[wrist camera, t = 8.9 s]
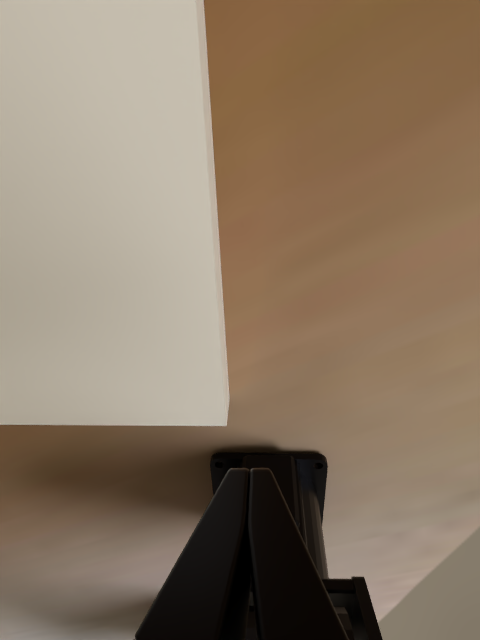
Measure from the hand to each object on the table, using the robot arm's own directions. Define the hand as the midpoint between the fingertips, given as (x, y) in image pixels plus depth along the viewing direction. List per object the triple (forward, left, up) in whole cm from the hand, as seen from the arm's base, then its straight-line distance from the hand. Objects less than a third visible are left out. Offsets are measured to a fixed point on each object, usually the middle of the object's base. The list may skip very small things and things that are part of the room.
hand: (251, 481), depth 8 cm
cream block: (+2, +8, -11) cm, 13 cm away
